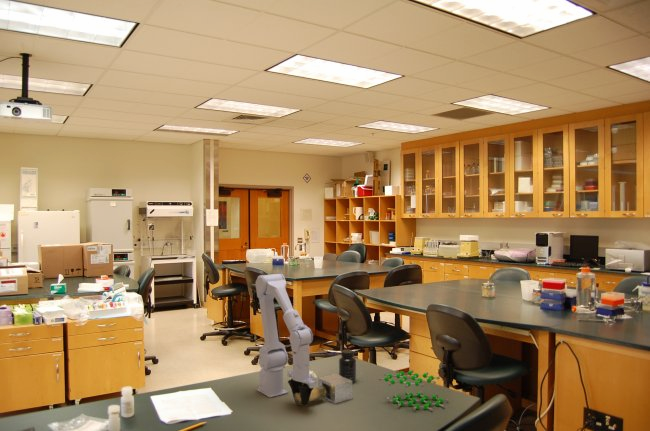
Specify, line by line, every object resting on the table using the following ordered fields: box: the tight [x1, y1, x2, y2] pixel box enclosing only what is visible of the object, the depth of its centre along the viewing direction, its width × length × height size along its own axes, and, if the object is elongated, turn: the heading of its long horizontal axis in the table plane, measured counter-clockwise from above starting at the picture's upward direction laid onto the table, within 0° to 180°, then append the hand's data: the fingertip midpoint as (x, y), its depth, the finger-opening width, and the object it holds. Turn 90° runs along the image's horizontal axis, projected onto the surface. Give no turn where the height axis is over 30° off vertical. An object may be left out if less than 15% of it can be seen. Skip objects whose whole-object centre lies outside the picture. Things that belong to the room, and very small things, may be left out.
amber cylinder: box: [293, 386, 326, 406], centre depth 173 cm, size 4×11×4 cm, turn 127°
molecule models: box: [378, 369, 450, 412], centre depth 174 cm, size 17×25×10 cm, turn 91°
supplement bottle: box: [338, 349, 357, 384], centre depth 196 cm, size 7×7×12 cm
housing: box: [317, 373, 353, 404], centre depth 179 cm, size 10×8×6 cm
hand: (301, 402), depth 170 cm, fingers open, 4 cm apart
